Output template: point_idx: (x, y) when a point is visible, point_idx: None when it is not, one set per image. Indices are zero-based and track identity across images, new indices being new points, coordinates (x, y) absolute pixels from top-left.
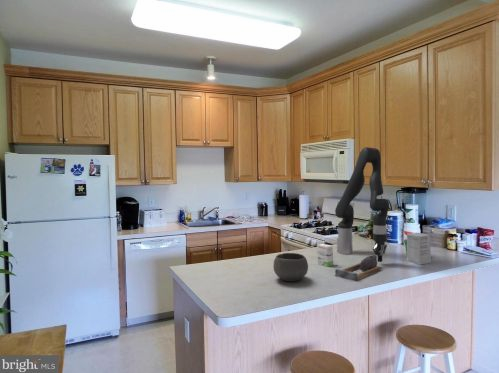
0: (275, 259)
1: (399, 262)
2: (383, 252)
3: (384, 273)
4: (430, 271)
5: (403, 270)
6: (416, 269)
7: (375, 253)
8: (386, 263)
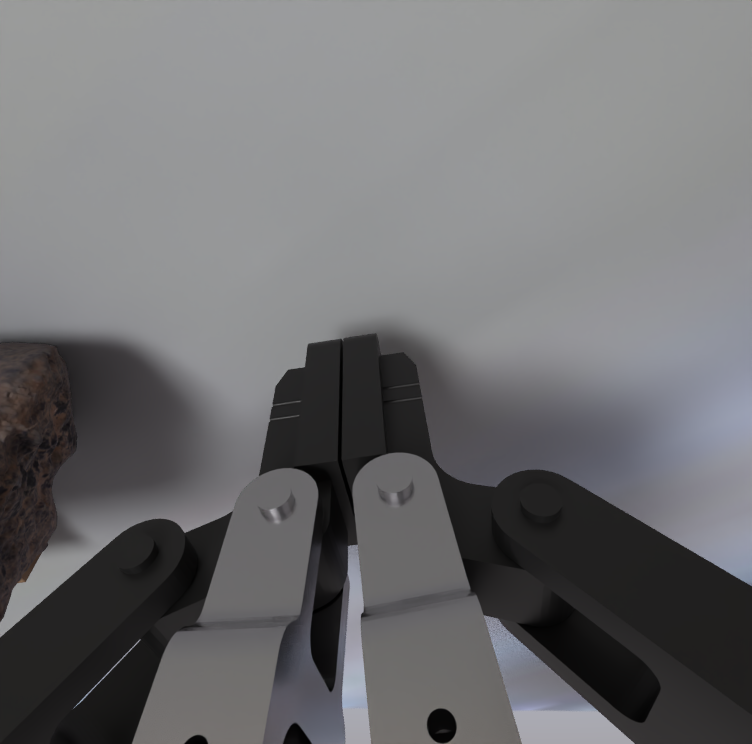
0: None
1: (747, 438)
2: (499, 619)
3: (36, 599)
4: (533, 697)
5: (360, 621)
6: (510, 646)
7: (62, 611)
8: (522, 357)
